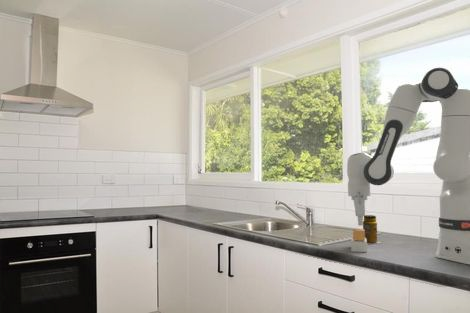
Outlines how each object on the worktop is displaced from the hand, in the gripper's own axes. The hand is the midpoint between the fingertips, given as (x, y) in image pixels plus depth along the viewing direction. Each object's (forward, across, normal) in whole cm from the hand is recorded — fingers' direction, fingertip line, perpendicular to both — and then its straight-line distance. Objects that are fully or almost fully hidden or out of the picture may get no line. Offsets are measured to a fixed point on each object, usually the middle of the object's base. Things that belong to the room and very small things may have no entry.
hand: (360, 225), depth 155 cm
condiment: (+10, +17, -3) cm, 20 cm away
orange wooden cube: (+6, -4, +1) cm, 7 cm away
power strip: (+10, -1, +1) cm, 10 cm away
